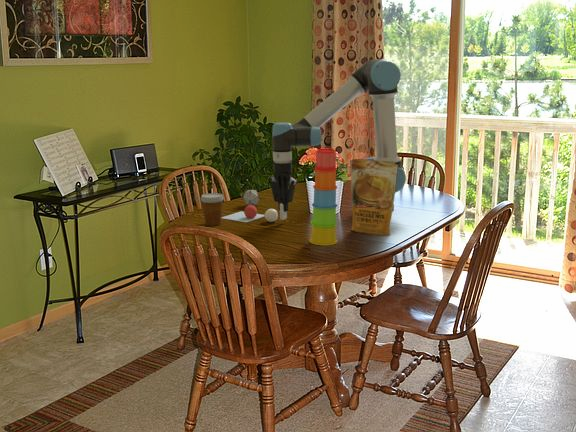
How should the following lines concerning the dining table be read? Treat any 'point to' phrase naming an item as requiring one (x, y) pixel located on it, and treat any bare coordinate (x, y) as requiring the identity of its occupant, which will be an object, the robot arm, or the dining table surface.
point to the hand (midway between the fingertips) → (283, 218)
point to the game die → (251, 197)
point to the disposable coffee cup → (212, 208)
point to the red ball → (250, 211)
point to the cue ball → (271, 215)
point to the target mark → (241, 217)
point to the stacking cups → (324, 199)
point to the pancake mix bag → (372, 195)
